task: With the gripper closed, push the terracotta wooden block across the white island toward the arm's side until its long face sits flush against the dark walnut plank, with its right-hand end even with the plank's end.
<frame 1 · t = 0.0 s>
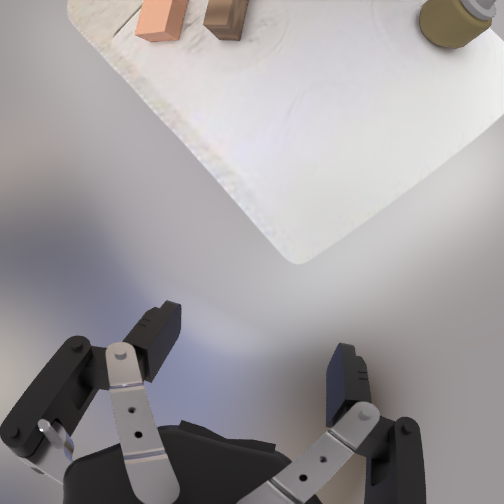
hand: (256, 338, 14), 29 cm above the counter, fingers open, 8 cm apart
terracotta block: (169, 19, 31), on the counter
squeeze bottle: (435, 30, 25), on the counter
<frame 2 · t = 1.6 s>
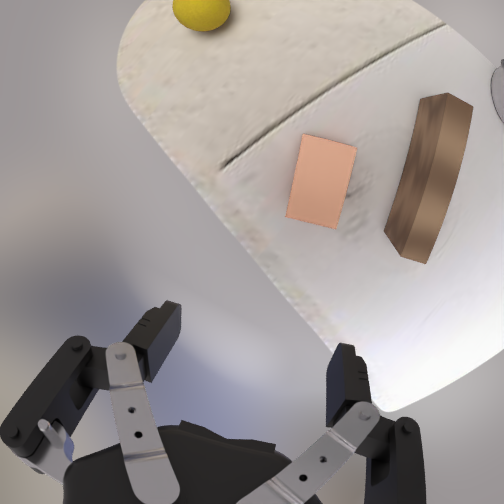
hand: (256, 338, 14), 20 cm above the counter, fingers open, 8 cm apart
terracotta block: (318, 174, 29), on the counter
lemon: (214, 20, 24), on the counter
walnut plank: (416, 169, 27), on the counter
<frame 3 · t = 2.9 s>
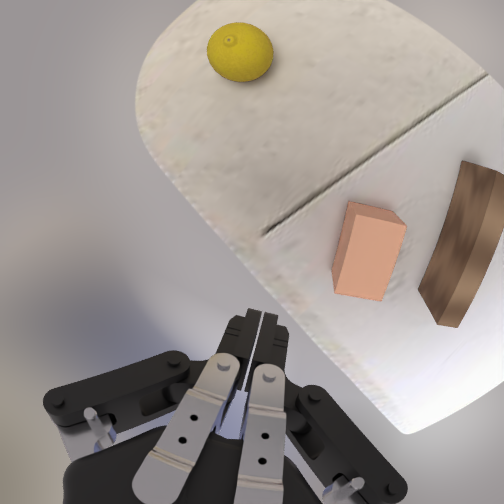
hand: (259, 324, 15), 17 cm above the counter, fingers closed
terracotta block: (361, 241, 29), on the counter
lemon: (250, 63, 24), on the counter
walnut plank: (452, 231, 26), on the counter
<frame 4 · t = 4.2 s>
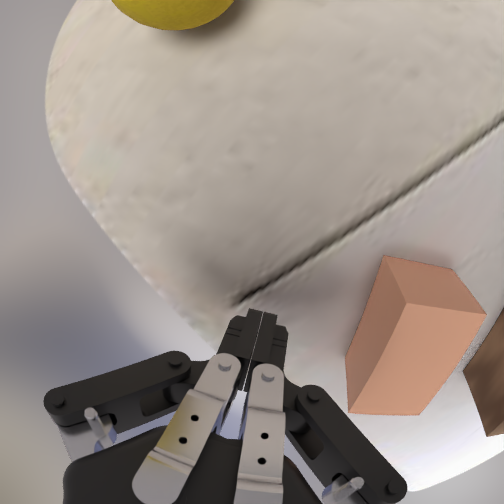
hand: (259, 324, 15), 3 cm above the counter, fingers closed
terracotta block: (397, 316, 16), on the counter
lemon: (207, 6, 11), on the counter
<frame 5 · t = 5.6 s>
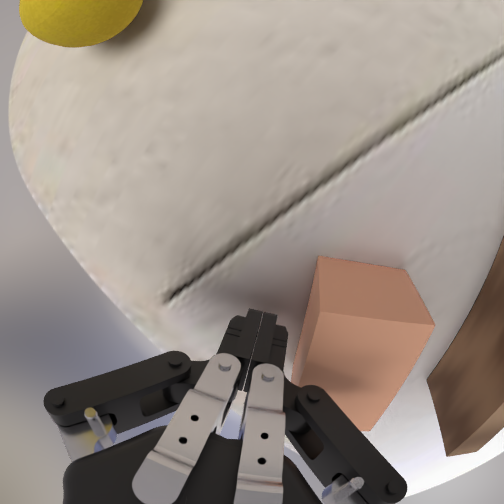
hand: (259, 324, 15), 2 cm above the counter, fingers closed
terracotta block: (345, 323, 16), on the counter, touching gripper
lemon: (129, 16, 11), on the counter
walnut plank: (494, 294, 13), on the counter
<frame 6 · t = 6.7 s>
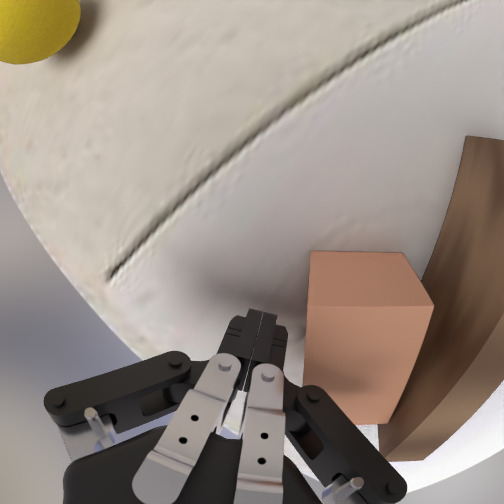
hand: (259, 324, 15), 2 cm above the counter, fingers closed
terracotta block: (351, 315, 16), on the counter, touching gripper, walnut plank
lemon: (76, 30, 12), on the counter
walnut plank: (443, 280, 14), on the counter
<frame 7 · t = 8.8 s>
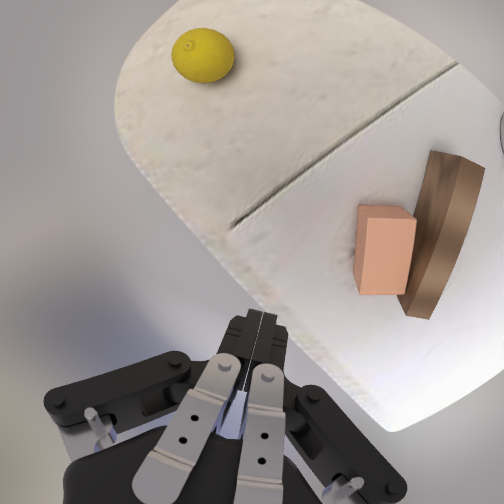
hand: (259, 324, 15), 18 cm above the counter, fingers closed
terracotta block: (377, 240, 30), on the counter
lemon: (216, 65, 25), on the counter
walnut plank: (423, 222, 28), on the counter
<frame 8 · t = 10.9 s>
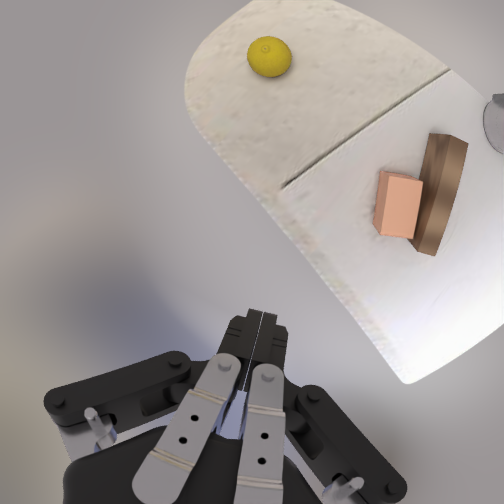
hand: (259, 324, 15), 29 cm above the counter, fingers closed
terracotta block: (392, 199, 38), on the counter
lemon: (273, 64, 33), on the counter
walnut plank: (425, 186, 36), on the counter
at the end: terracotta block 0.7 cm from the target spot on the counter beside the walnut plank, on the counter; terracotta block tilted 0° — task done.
